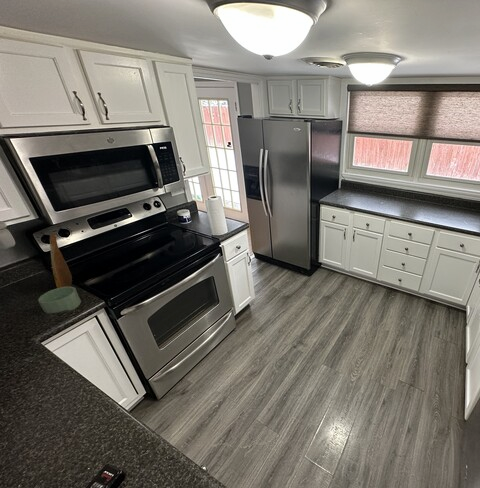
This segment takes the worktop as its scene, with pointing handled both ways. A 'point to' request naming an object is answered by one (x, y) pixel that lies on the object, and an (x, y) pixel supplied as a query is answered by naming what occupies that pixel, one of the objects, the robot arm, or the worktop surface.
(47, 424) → the worktop surface
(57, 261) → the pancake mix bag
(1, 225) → the robot arm
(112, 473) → the worktop surface
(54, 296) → the bowl
